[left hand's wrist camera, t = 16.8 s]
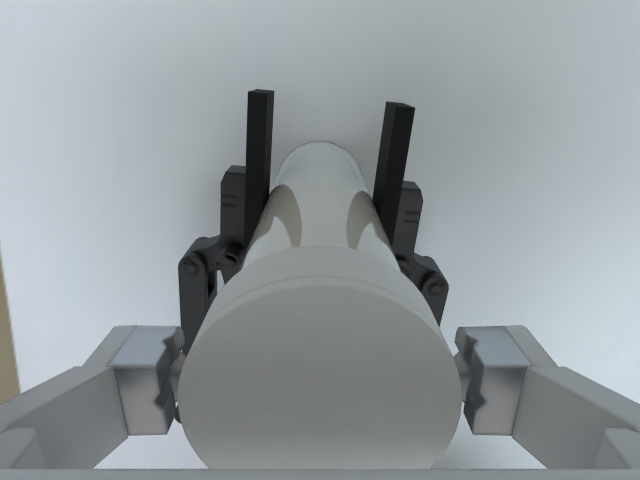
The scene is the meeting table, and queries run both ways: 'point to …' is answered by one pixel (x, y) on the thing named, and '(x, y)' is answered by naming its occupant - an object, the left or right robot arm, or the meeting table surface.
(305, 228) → the jar
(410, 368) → the lid
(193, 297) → the right robot arm
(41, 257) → the meeting table surface
